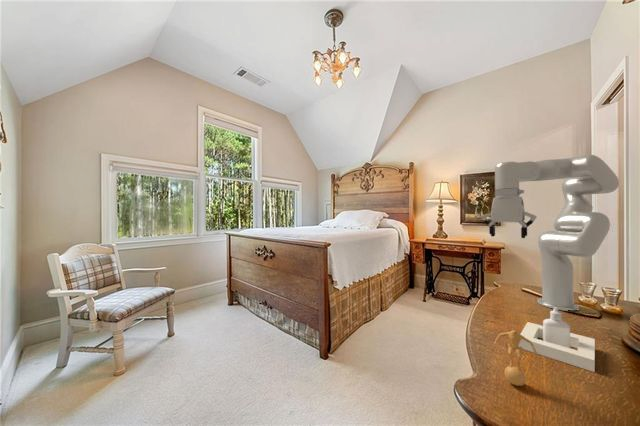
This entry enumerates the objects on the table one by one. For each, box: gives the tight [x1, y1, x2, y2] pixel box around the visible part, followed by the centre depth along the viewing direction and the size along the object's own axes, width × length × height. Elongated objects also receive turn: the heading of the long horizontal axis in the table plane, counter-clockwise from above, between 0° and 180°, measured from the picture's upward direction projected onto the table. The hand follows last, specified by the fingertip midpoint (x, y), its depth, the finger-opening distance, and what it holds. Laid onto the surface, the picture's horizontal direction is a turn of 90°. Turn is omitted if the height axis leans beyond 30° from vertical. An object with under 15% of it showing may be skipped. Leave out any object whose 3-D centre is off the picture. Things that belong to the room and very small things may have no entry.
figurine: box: [493, 329, 539, 387], centre depth 58 cm, size 8×6×12 cm
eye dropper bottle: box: [542, 307, 571, 349], centre depth 71 cm, size 4×6×12 cm
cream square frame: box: [519, 321, 596, 373], centre depth 71 cm, size 15×15×3 cm
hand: (507, 237), depth 96 cm, fingers open, 9 cm apart
